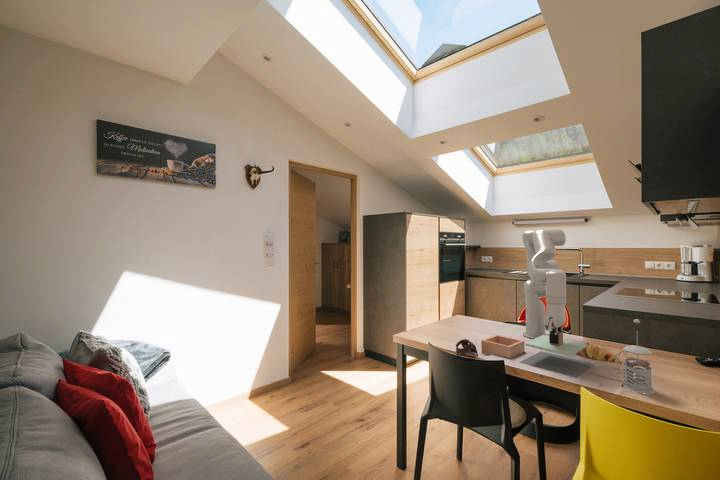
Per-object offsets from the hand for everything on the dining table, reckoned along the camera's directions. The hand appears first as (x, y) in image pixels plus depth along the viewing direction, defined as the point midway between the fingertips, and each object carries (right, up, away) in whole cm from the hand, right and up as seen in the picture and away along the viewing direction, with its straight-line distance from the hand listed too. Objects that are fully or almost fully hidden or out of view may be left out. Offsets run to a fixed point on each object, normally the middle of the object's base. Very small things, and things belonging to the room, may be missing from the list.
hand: (556, 341), depth 147 cm
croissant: (+21, -10, +7) cm, 24 cm away
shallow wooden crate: (-16, -10, +16) cm, 25 cm away
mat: (0, -10, -1) cm, 10 cm away
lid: (0, -2, 0) cm, 2 cm away
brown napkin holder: (-34, -11, +15) cm, 39 cm away
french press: (+16, -10, -23) cm, 29 cm away
